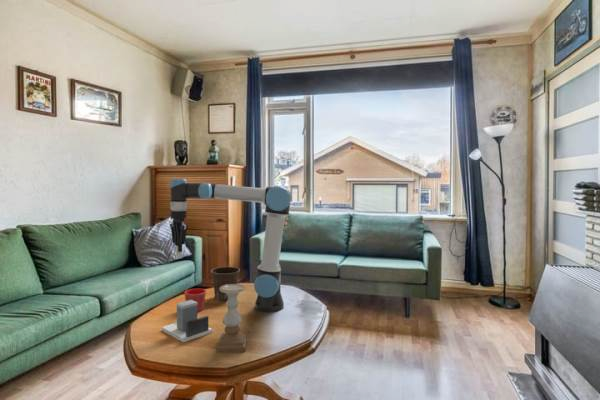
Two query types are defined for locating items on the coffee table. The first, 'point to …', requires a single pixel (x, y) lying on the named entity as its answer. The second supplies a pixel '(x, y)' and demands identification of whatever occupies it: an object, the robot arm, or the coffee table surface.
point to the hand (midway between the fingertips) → (178, 258)
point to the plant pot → (224, 280)
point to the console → (189, 329)
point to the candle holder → (232, 322)
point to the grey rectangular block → (186, 313)
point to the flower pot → (196, 297)
